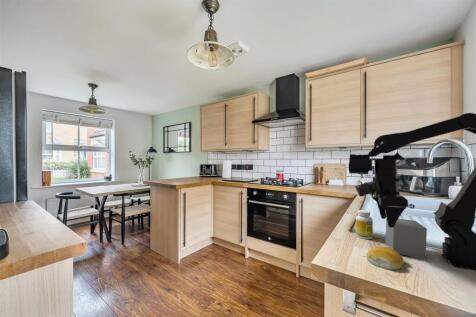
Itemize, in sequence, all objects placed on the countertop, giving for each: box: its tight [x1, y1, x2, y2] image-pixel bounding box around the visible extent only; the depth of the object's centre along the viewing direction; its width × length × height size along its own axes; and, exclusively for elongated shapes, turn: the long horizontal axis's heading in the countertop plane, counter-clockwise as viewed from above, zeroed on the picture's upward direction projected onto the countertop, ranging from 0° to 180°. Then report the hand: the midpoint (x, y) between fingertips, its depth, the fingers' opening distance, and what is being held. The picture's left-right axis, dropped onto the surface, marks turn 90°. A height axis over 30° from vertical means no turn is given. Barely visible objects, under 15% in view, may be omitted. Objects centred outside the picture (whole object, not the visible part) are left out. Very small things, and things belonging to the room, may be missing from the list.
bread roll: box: [365, 246, 405, 271], centre depth 56 cm, size 8×9×4 cm
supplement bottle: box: [355, 209, 374, 240], centre depth 73 cm, size 5×5×10 cm
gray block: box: [385, 218, 428, 259], centre depth 62 cm, size 8×8×9 cm
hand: (386, 222), depth 63 cm, fingers open, 9 cm apart
